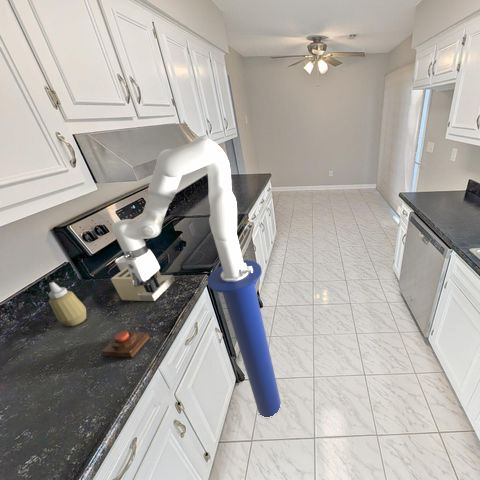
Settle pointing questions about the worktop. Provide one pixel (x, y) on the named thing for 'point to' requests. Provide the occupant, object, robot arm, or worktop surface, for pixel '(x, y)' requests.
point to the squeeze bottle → (66, 305)
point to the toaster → (138, 293)
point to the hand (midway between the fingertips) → (153, 289)
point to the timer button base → (126, 345)
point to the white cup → (121, 263)
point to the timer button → (122, 336)
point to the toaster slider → (152, 284)
